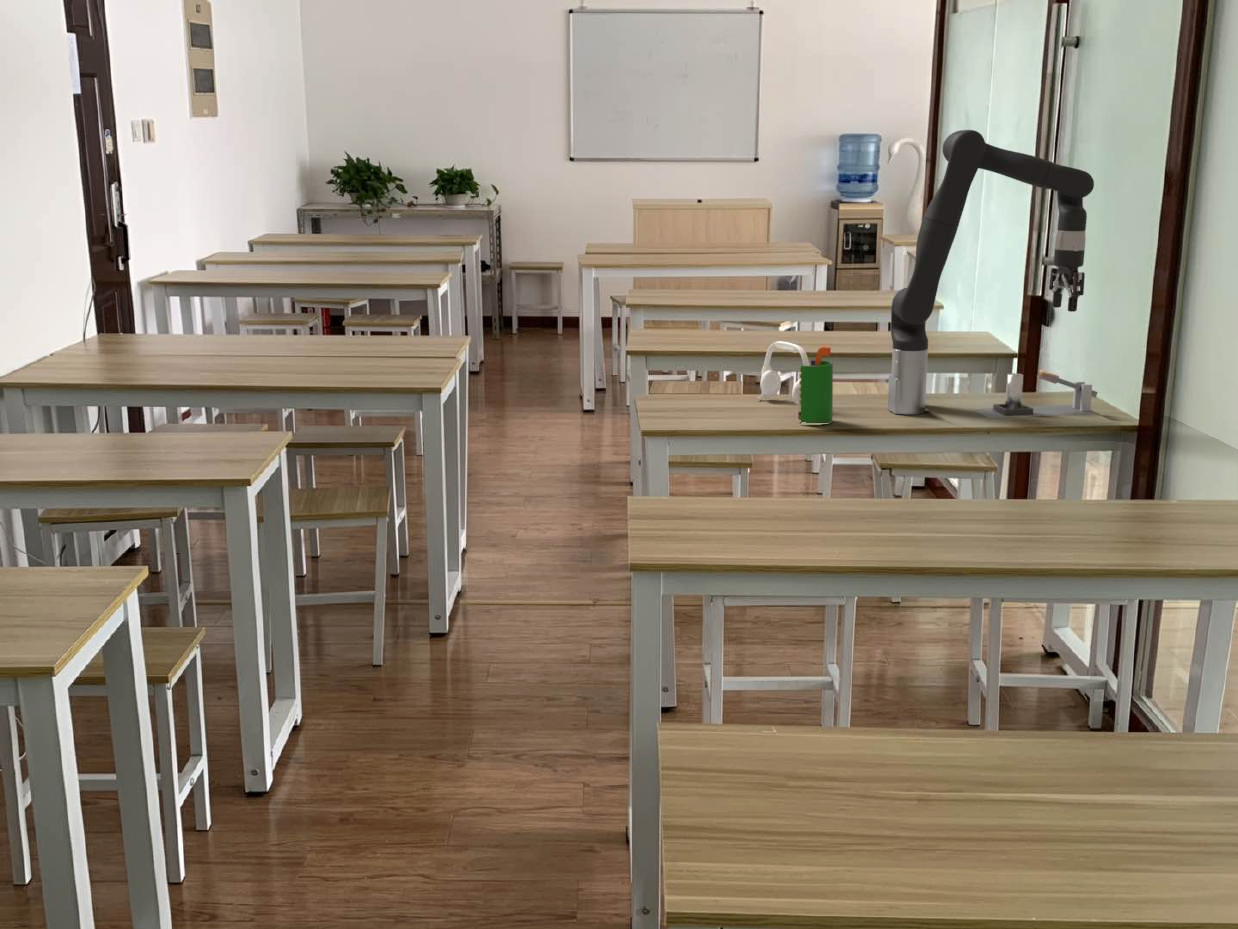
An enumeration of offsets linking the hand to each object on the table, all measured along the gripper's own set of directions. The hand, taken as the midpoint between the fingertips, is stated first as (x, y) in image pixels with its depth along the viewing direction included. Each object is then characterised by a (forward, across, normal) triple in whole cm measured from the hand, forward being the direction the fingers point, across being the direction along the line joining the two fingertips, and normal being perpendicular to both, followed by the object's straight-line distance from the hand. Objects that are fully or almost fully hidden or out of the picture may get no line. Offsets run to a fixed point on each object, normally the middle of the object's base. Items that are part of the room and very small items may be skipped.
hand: (1064, 309), depth 332 cm
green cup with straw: (+28, +3, -69) cm, 74 cm away
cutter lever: (+19, +10, -2) cm, 22 cm away
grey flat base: (+27, +9, -11) cm, 31 cm away
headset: (+29, -20, -70) cm, 78 cm away
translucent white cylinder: (+26, +9, -17) cm, 32 cm away
